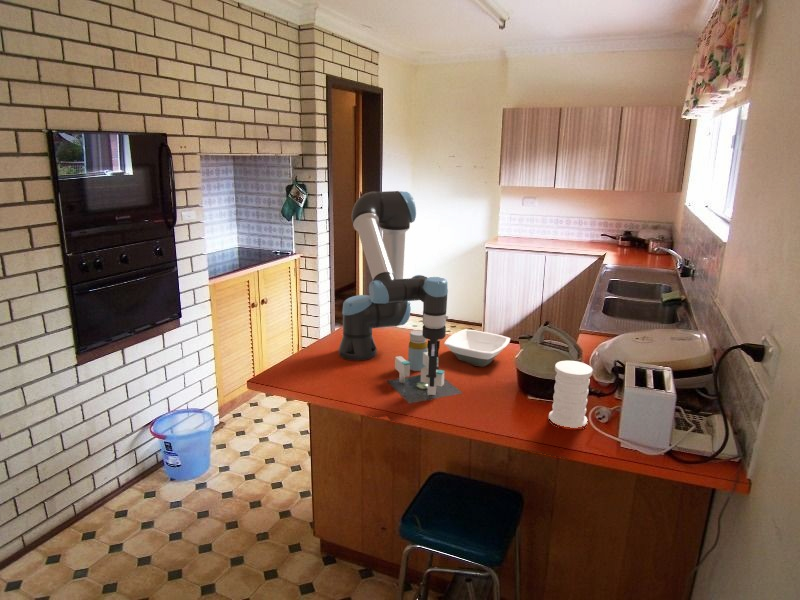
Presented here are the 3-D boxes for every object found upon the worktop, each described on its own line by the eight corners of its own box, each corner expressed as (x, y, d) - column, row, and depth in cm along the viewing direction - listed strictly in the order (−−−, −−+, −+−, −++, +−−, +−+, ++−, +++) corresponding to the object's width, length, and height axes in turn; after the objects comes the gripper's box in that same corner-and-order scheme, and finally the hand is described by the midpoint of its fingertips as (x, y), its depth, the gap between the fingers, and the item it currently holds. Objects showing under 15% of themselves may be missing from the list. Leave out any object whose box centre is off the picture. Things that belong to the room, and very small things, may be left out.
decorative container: (543, 423, 170) (549, 369, 165) (554, 408, 180) (560, 357, 175) (581, 434, 165) (588, 378, 160) (591, 418, 174) (597, 365, 169)
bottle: (425, 374, 204) (426, 336, 200) (406, 373, 205) (407, 335, 201) (428, 367, 211) (429, 330, 207) (410, 365, 212) (410, 328, 208)
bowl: (494, 376, 204) (495, 355, 202) (438, 363, 215) (438, 343, 212) (513, 357, 222) (515, 337, 220) (461, 346, 233) (462, 327, 231)
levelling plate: (386, 383, 196) (386, 378, 196) (436, 375, 204) (436, 369, 204) (409, 406, 180) (409, 400, 179) (462, 396, 188) (463, 390, 187)
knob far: (422, 373, 202) (422, 351, 199) (427, 372, 203) (428, 350, 200) (432, 381, 195) (432, 359, 193) (437, 380, 196) (438, 358, 194)
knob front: (420, 391, 187) (420, 368, 185) (423, 389, 189) (423, 366, 187) (440, 396, 184) (441, 373, 181) (443, 394, 186) (444, 370, 183)
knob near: (394, 378, 197) (395, 356, 195) (400, 377, 198) (401, 355, 196) (403, 386, 191) (404, 363, 188) (409, 385, 192) (410, 362, 189)
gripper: (445, 334, 171) (442, 403, 178) (446, 317, 187) (443, 381, 194) (421, 333, 172) (419, 401, 178) (424, 316, 188) (422, 379, 195)
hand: (431, 390), depth 186 cm, fingers open, 4 cm apart
